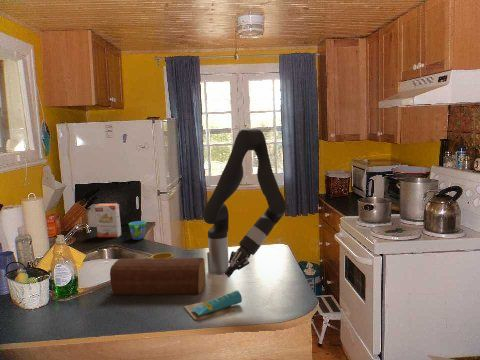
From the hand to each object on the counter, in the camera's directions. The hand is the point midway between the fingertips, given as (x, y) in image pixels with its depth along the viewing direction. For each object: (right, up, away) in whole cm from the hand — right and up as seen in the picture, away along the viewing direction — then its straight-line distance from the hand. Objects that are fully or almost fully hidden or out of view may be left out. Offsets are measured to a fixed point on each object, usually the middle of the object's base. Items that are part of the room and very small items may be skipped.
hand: (226, 275), depth 177 cm
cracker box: (-79, +1, +115) cm, 140 cm away
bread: (-30, -11, +21) cm, 38 cm away
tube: (+5, -8, +1) cm, 10 cm away
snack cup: (-58, +1, +106) cm, 121 cm away
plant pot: (-31, -8, +38) cm, 50 cm away
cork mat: (-7, -13, -2) cm, 14 cm away
